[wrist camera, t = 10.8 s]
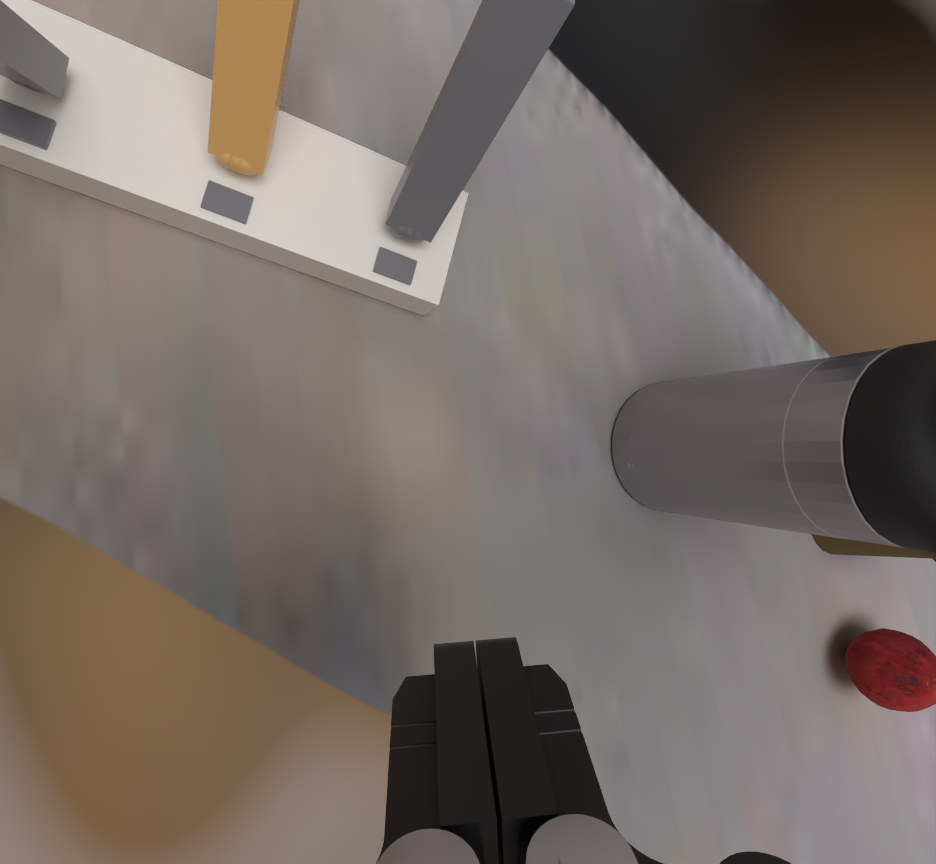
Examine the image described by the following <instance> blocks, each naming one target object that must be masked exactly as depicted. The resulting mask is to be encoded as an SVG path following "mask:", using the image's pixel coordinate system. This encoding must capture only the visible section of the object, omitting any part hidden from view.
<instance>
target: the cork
mask: <svg viewBox="0 0 936 864" xmlns="http://www.w3.org/2000/svg"><path fill="white" fill-rule="evenodd" d="M812 535H813V537H814V539H815V541H816V543H817V544H818V545H819V546H820V548H821V549H822V550H823V551H826V552H828V553H830V554H841V555H865V556H889V557H913V558H932V559H933V560H934V561H935V562H936V554H934V553H931V552H926V551H921V550H915V549H908V548H901V547H895V546H888V545H882V544H875V543H869V542H862V541H855V540H849V539H840V538H834V537H827V536H821V535H814V534H812Z"/></svg>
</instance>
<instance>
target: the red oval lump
mask: <svg viewBox="0 0 936 864" xmlns="http://www.w3.org/2000/svg"><path fill="white" fill-rule="evenodd" d="M845 661H846V668H847V671H848V673H849V676H850V677H851V679H852V681H853V683H854V685H855V686H856V687H857V688H858V690H859V691H860V692H861V693H862V694H863V695H865V696H866V697H867V698H868V699H869V700H871V701H873V702H874V703H876V704H877V705H879V706H881V707H884V708H887V709H890V710H896V711H905V712H913V711H919V710H923V709H925V708H928V707H930V706H932V705H934V704H936V656H935V655H934V654H933V653H932V652H931V650H930V649H929V648H928V647H927V646H926V645H924V644H923V643H922V642H921V641H920V640H918V639H916V638H914V637H913V636H910V635H908V634H905V633H902V632H899V631H895V630H889V629H878V630H873V631H868V632H864V633H863V634H861V635H859V636H858V637H856V638H855V639H854V640H853V641H852V642H851V643H850V645H849V646H848V648H847V650H846V652H845Z"/></svg>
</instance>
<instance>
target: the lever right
mask: <svg viewBox="0 0 936 864" xmlns="http://www.w3.org/2000/svg"><path fill="white" fill-rule="evenodd" d="M574 5H575V0H483V1H482V3H481V5H480V7H479V9H478V11H477V14H476V16H475V18H474V20H473V22H472V25H471V27H470V29H469V31H468V33H467V35H466V38H465V40H464V42H463V44H462V46H461V48H460V51H459V53H458V55H457V57H456V59H455V61H454V64H453V66H452V68H451V70H450V72H449V75H448V77H447V79H446V81H445V83H444V85H443V88H442V90H441V92H440V94H439V96H438V98H437V101H436V103H435V105H434V107H433V109H432V111H431V114H430V116H429V118H428V120H427V122H426V124H425V127H424V129H423V131H422V133H421V135H420V138H419V140H418V142H417V144H416V146H415V148H414V151H413V153H412V155H411V157H410V159H409V161H408V164H407V166H406V168H405V170H404V172H403V174H402V177H401V179H400V181H399V183H398V185H397V188H396V190H395V192H394V194H393V196H392V198H391V202H390V207H389V211H388V215H387V220H386V224H385V225H388V226H389V227H390V229H391V230H392V232H393V233H394V234H396V235H397V236H399V237H401V238H404V239H406V240H409V241H412V242H422V241H424V240H425V241H427V242H430V243H431V242H432V240H433V238H434V237H435V235H436V233H437V232H438V230H439V228H440V227H441V225H442V223H443V222H444V220H445V218H446V217H447V215H448V213H449V212H450V210H451V208H452V207H453V205H454V203H455V202H456V200H457V198H458V197H459V195H460V194H461V192H462V190H463V189H464V187H465V185H466V184H467V182H468V180H469V179H470V177H471V175H472V174H473V172H474V170H475V169H476V167H477V165H478V164H479V162H480V160H481V159H482V157H483V155H484V154H485V152H486V150H487V149H488V147H489V146H490V144H491V142H492V141H493V139H494V137H495V136H496V134H497V132H498V131H499V129H500V127H501V126H502V124H503V122H504V121H505V119H506V117H507V116H508V114H509V112H510V111H511V109H512V107H513V106H514V104H515V102H516V101H517V99H518V98H519V96H520V94H521V93H522V91H523V89H524V88H525V86H526V84H527V83H528V81H529V79H530V78H531V76H532V74H533V73H534V71H535V69H536V68H537V66H538V64H539V63H540V61H541V59H542V58H543V56H544V54H545V53H546V51H547V50H548V48H549V46H550V45H551V43H552V41H553V40H554V38H555V36H556V35H557V33H558V31H559V30H560V28H561V26H562V25H563V23H564V21H565V19H566V18H567V16H568V15H569V13H570V11H571V10H572V8H573V6H574Z"/></svg>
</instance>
